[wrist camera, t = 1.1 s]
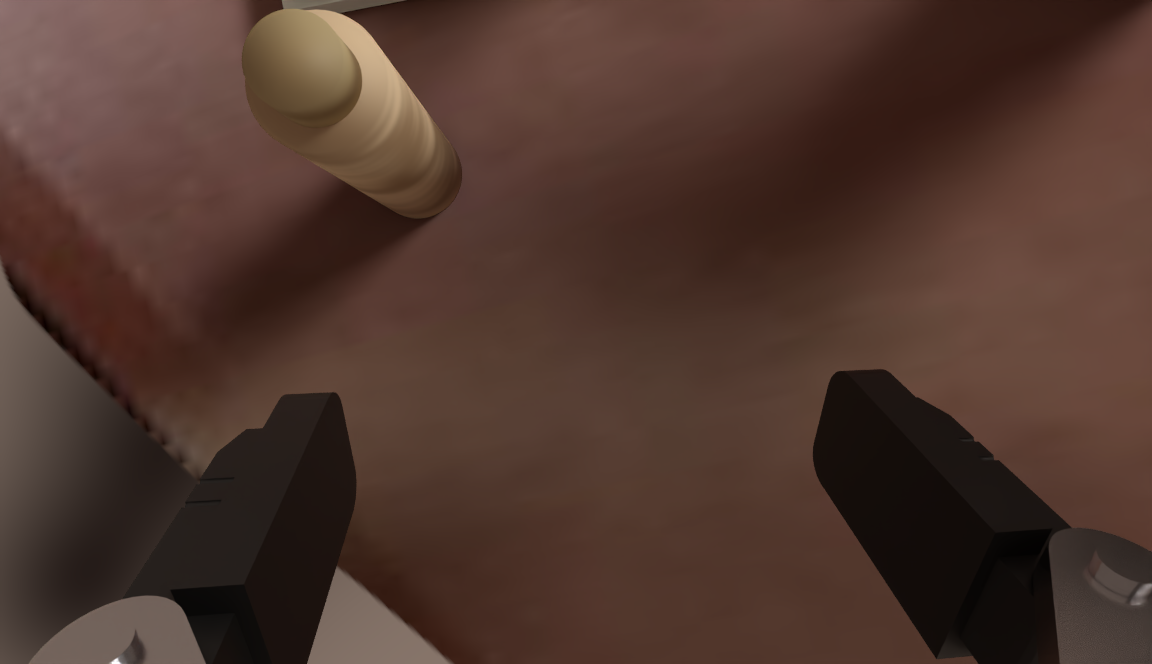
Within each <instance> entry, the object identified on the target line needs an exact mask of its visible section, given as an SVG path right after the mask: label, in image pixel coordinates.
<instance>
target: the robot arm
mask: <svg viewBox="0 0 1152 664" xmlns="http://www.w3.org/2000/svg"><path fill="white" fill-rule="evenodd" d="M993 456H994V455H993V454H991V453H990V452H989V451H988V450H987V449H986V448H985V447H984V446H983V445H982V444H981V443H980V442H974V437H973V436H972V435H971V434H970V433H969V432H968V431H967V430H965V429H964V428H963V427H962V426H961V425H960V424H959V423H958V422H957V421H956V420H955V419H954V418H952V417H951V416H950V415H949V414H947V413H945V412H943V411H941V410H940V409H938V408H936V407H934V406H933V405H931V404H929V403H927V402H925V401H924V400H922V399H920V398H918V397H917V398H916V397H915V396H914V395H913V394H912V393H911V392H910V391H909V390H908V389H907V388H906V387H904V386H903V385H902V384H901V383H900V382H899V381H898V380H897V379H896V378H895V377H894V376H893V375H892V374H891V373H889V372H888V371H886V370H883V369H877V370H855V371H838V372H836V373H835V374H834V375H833V376H832V377H831V379H830V382H829V385H828V389H827V393H826V397H825V401H824V405H823V409H822V413H821V417H820V421H819V425H818V429H817V433H816V437H815V441H814V446H813V462H814V467H815V471H816V474H817V477H818V479H819V481H820V483H821V484H822V486H823V488H824V489H825V491H826V492H827V494H828V495H829V497H830V498H831V500H832V501H833V503H834V504H835V506H836V507H837V509H838V510H839V512H840V513H841V515H842V516H843V518H844V519H845V521H846V522H847V524H848V525H849V527H850V529H851V530H852V532H853V533H854V535H855V536H856V538H857V539H858V541H859V542H860V544H861V545H862V547H863V548H864V550H865V551H866V553H867V554H868V556H869V557H870V559H871V560H872V562H873V563H874V565H875V566H876V568H877V570H878V571H879V573H880V574H881V576H882V577H883V579H884V580H885V582H886V583H887V585H888V586H889V588H890V589H891V591H892V592H893V594H894V595H895V597H896V598H897V600H898V601H899V603H900V604H901V606H902V608H903V609H904V611H905V612H906V614H907V615H908V617H909V618H910V620H911V621H912V623H913V624H914V626H915V627H916V629H917V630H918V632H919V633H920V635H921V636H922V638H923V639H924V641H925V642H926V644H927V645H928V647H929V649H930V650H931V652H932V653H933V655H934V656H935V658H936V659H943V658H954V657H964V656H973V657H974V658H975V660H976V661H977V662H978V664H1152V552H1151V551H1149V550H1147V549H1145V548H1143V547H1141V546H1140V545H1138V544H1135V543H1133V542H1131V541H1129V540H1126V539H1124V538H1121V537H1119V536H1116V535H1113V534H1110V533H1106V532H1103V531H1098V530H1093V529H1086V528H1072V527H1071V526H1069V525H1068V524H1067V523H1066V522H1065V521H1064V520H1063V519H1062V518H1061V517H1060V516H1059V515H1058V514H1056V513H1055V512H1054V511H1053V510H1052V509H1051V508H1050V507H1049V506H1048V505H1047V504H1046V503H1045V502H1043V501H1042V500H1041V499H1040V498H1039V497H1038V496H1037V495H1036V494H1035V493H1034V492H1033V491H1032V490H1030V489H1029V488H1028V487H1027V486H1026V485H1025V484H1024V483H1023V482H1022V481H1021V480H1020V479H1019V478H1017V477H1016V476H1015V475H1014V474H1013V473H1012V472H1011V471H1010V470H1009V469H1008V468H1007V467H1006V466H1004V465H1003V464H1002V463H1001V462H1000V461H999V460H994V458H993ZM355 499H356V471H355V466H354V461H353V456H352V451H351V446H350V441H349V437H348V432H347V427H346V422H345V417H344V412H343V407H342V403H341V400H340V398H339V396H338V394H337V393H334V392H332V393H309V394H287V395H283V396H282V397H281V398H280V400H279V401H278V403H277V405H276V406H275V408H274V410H273V412H272V413H271V415H270V417H269V419H268V420H267V422H266V424H265V426H264V427H263V428H260V429H246V430H245V431H244V432H242V433H241V434H240V435H239V436H237V437H236V438H235V439H234V440H232V441H231V442H230V443H228V444H227V445H226V446H225V447H223V448H222V449H221V450H220V451H218V452H217V454H216V455H215V457H214V458H213V460H212V461H211V463H210V464H209V466H208V468H207V469H206V471H205V472H204V474H203V475H202V477H201V478H200V484H197V485H196V486H195V488H194V489H193V491H192V492H191V494H190V495H189V497H188V499H187V500H186V505H185V508H181V509H180V511H179V512H178V514H177V515H176V517H175V519H174V520H173V522H172V523H171V525H170V526H169V528H168V529H167V531H166V532H165V534H164V536H163V537H162V539H161V540H160V542H159V543H158V545H157V547H156V548H155V549H154V551H153V552H152V554H151V556H150V557H149V559H148V560H147V562H146V563H145V565H144V567H143V568H142V570H141V571H140V573H139V574H138V576H137V577H136V579H135V580H134V582H133V583H132V585H131V587H130V588H129V590H128V591H127V593H126V594H125V596H124V597H123V599H122V600H119V601H116V602H113V603H110V604H107V605H104V606H102V607H100V608H98V609H95V610H94V611H91V612H89V613H88V614H86V615H84V616H82V617H81V618H79V619H77V620H76V621H74V622H72V623H71V624H70V625H68V626H66V627H65V628H64V629H62V630H61V631H60V632H59V633H57V634H56V635H55V636H54V637H53V638H51V640H49V641H48V642H47V643H46V644H45V645H44V646H43V647H42V648H41V649H40V650H39V651H38V652H37V654H36V655H35V656H34V657H33V658H32V659H31V661H30V662H29V664H307V661H308V658H309V655H310V652H311V648H312V645H313V642H314V639H315V635H316V632H317V629H318V625H319V622H320V619H321V615H322V612H323V609H324V606H325V602H326V599H327V596H328V592H329V589H330V585H331V582H332V579H333V576H334V573H335V569H336V566H337V563H338V559H339V556H340V553H341V549H342V546H343V543H344V540H345V536H346V533H347V530H348V526H349V523H350V520H351V517H352V513H353V510H354V505H355Z"/></svg>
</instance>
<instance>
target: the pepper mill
mask: <svg viewBox="0 0 1152 664" xmlns="http://www.w3.org/2000/svg"><path fill="white" fill-rule="evenodd" d="M242 68H243V72H244V76H245V86H246V94H247V99H248V103H249V105H250V108H251V111H252V113H253V115H254V117H255V118H256V120H257V121H258V123H259V124H260V126H261V127H262V128H263V129H264V130H265V131H266V132H267V133H268V134H269V135H270V136H271V137H272V138H273V139H275V140H277V141H278V142H280V143H281V144H283V145H284V146H286V147H288V148H289V149H291V150H293V151H294V152H296V153H298V154H299V155H301V156H303V157H304V158H306V159H308V160H309V161H311V162H313V163H314V164H316V165H318V166H319V167H321V168H323V169H324V170H326V171H328V172H329V173H331V174H333V175H334V176H336V177H338V178H339V179H341V180H343V181H344V182H346V183H347V184H349V185H351V186H352V187H354V188H356V189H357V190H359V191H361V192H362V193H364V194H366V195H367V196H369V197H371V198H372V199H374V200H376V201H377V202H379V203H381V204H382V205H384V206H386V207H387V208H389V209H391V210H392V211H394V212H396V213H398V214H400V215H402V216H405V217H409V218H417V219H420V218H427V217H431V216H434V215H436V214H438V213H440V212H442V211H443V210H445V209H446V208H447V207H448V206H449V205H450V204H451V203H452V202H453V200H454V199H455V197H456V196H457V194H458V191H459V189H460V186H461V181H462V168H461V163H460V160H459V157H458V155H457V153H456V151H455V150H454V148H453V147H452V145H451V144H450V143H449V141H448V140H447V138H446V137H445V136H444V134H443V133H442V132H441V130H440V129H439V128H438V126H437V125H436V124H435V122H434V121H433V119H432V118H431V117H430V115H429V114H428V113H427V111H426V110H425V109H424V107H423V106H422V104H421V103H420V102H419V100H418V99H417V98H416V96H415V95H414V94H413V92H412V91H411V89H410V88H409V87H408V85H407V84H406V83H405V81H404V80H403V79H402V77H401V76H400V74H399V73H398V72H397V70H396V69H395V68H394V66H393V65H392V64H391V62H390V61H389V60H388V58H387V57H386V55H385V54H384V53H383V51H382V50H381V49H380V47H379V46H378V45H377V43H376V42H375V40H374V39H373V38H372V36H371V35H370V34H369V33H368V32H367V31H366V30H365V29H364V28H363V27H362V26H361V25H359V24H358V23H357V22H355V21H354V20H352V19H350V18H348V17H346V16H344V15H342V14H339V13H336V12H332V11H327V10H301V9H283V10H278V11H276V12H273V13H271V14H269V15H267V16H265V17H264V18H262V19H261V20H260V21H259V22H258V23H257V24H256V25H255V26H254V27H253V28H252V30H251V31H250V33H249V34H248V36H247V38H246V40H245V43H244V47H243V52H242Z"/></svg>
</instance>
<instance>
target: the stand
mask: <svg viewBox="0 0 1152 664" xmlns="http://www.w3.org/2000/svg"><path fill="white" fill-rule="evenodd" d="M400 1H405V0H282V4H283V9H301V10H327V11H332V12H336V13H342V12H348V11H353V10H358V9H363V8H368V7H374V6H379V5H384V4H389V3H395V2H400Z"/></svg>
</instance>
